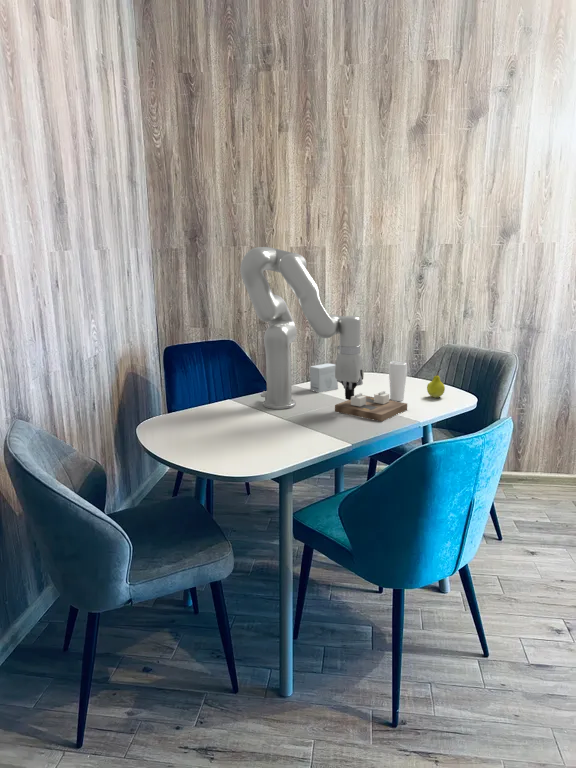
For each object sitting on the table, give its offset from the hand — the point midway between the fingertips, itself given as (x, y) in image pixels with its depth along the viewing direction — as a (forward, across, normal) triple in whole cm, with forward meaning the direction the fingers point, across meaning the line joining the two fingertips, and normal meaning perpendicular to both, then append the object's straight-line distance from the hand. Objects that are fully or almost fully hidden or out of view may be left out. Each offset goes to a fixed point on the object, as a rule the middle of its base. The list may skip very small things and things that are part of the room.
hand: (349, 398), depth 210 cm
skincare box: (+4, -26, +19) cm, 33 cm away
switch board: (+4, +7, +4) cm, 9 cm away
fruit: (+5, +17, +36) cm, 40 cm away
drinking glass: (+5, +7, +23) cm, 24 cm away
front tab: (+2, +4, 0) cm, 4 cm away
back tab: (+2, +9, +8) cm, 12 cm away
